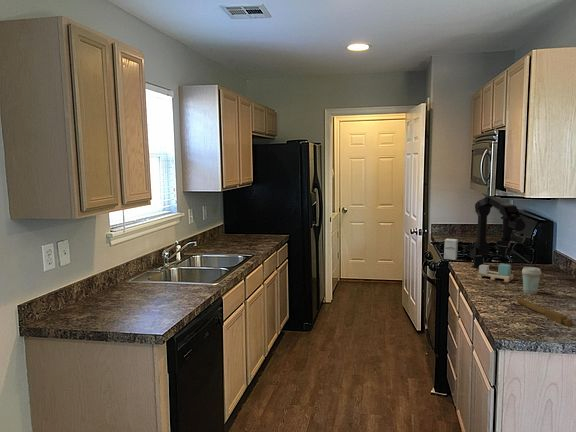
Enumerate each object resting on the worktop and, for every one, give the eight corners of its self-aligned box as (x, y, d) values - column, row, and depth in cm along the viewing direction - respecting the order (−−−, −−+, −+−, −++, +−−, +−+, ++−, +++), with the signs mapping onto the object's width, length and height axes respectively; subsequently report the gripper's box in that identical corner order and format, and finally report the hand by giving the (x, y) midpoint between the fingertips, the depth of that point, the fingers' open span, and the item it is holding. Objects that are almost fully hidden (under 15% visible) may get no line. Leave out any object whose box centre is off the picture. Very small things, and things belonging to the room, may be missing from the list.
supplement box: (443, 259, 307) (444, 239, 305) (445, 256, 313) (446, 238, 312) (455, 260, 303) (456, 240, 302) (457, 258, 310) (458, 238, 308)
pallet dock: (482, 274, 268) (483, 269, 268) (513, 278, 258) (513, 274, 257) (477, 277, 261) (477, 272, 261) (508, 282, 251) (508, 277, 251)
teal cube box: (500, 272, 261) (501, 263, 261) (510, 273, 258) (511, 264, 258) (498, 274, 258) (498, 265, 257) (507, 275, 254) (508, 266, 254)
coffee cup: (528, 295, 227) (529, 271, 226) (516, 290, 236) (518, 267, 234) (544, 294, 228) (545, 270, 227) (532, 289, 237) (533, 266, 235)
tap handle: (522, 297, 215) (574, 319, 186) (522, 304, 216) (574, 327, 187) (516, 298, 215) (568, 320, 186) (516, 304, 215) (567, 327, 186)
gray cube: (481, 271, 264) (481, 264, 263) (488, 272, 261) (489, 265, 261) (478, 272, 261) (479, 265, 260) (486, 274, 258) (486, 266, 258)
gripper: (519, 231, 243) (517, 261, 245) (529, 227, 257) (527, 255, 259) (496, 229, 250) (494, 258, 252) (507, 225, 264) (506, 253, 266)
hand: (506, 256), depth 257 cm, fingers open, 9 cm apart
